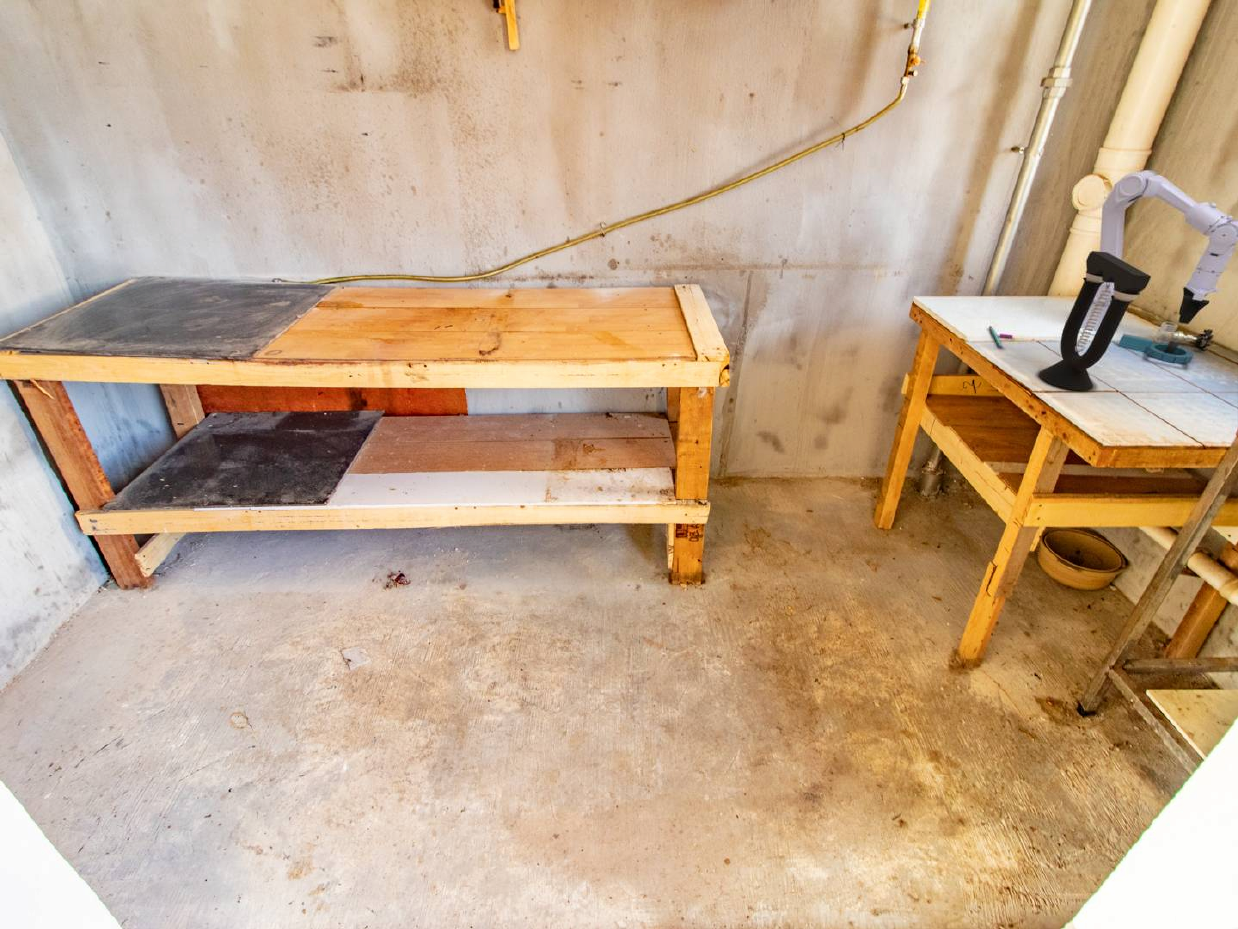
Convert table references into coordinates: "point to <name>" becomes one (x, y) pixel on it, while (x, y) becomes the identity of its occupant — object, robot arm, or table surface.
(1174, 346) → the ring stand
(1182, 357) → the ring
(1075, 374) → the spring support
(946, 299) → the table surface
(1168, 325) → the valve
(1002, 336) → the squeegee
